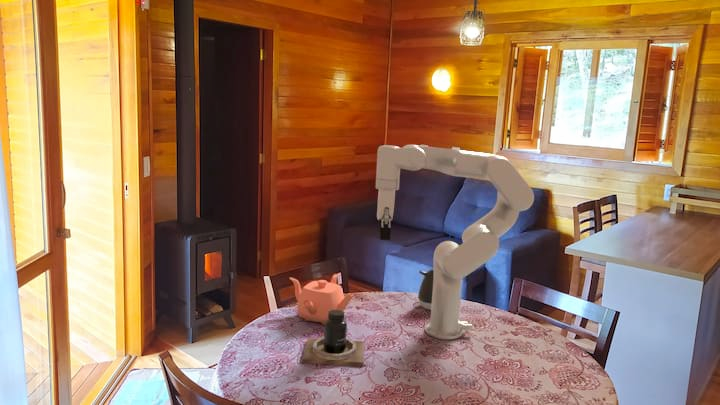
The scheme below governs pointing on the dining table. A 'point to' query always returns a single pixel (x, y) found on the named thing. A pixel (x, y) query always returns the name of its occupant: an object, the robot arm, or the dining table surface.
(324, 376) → the dining table surface
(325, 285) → the teapot
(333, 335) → the supplement bottle
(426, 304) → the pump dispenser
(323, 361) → the ring board
